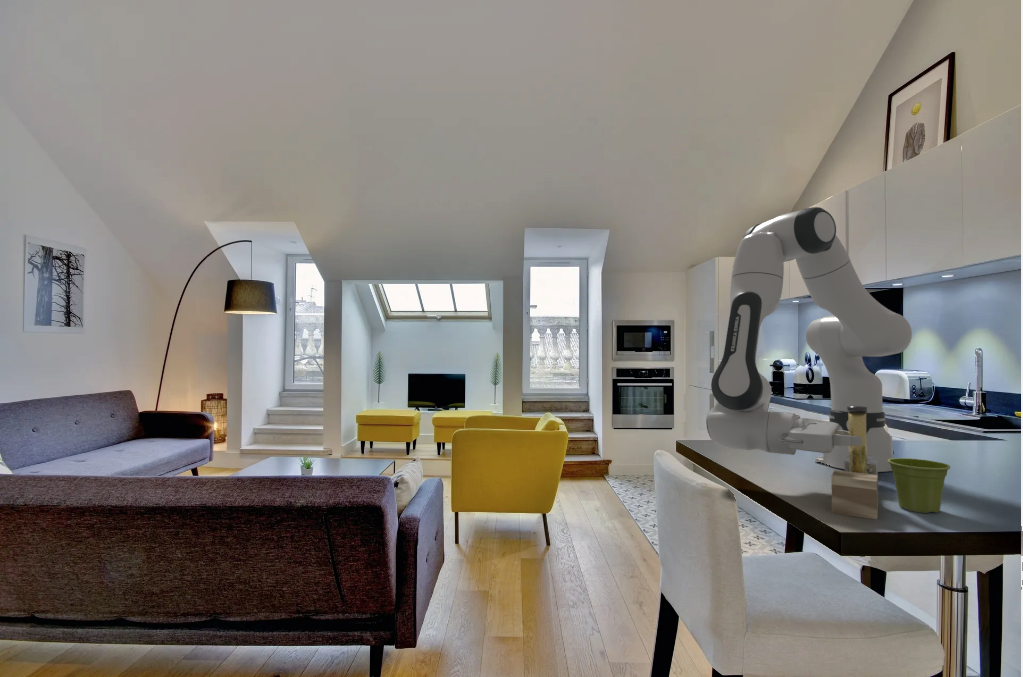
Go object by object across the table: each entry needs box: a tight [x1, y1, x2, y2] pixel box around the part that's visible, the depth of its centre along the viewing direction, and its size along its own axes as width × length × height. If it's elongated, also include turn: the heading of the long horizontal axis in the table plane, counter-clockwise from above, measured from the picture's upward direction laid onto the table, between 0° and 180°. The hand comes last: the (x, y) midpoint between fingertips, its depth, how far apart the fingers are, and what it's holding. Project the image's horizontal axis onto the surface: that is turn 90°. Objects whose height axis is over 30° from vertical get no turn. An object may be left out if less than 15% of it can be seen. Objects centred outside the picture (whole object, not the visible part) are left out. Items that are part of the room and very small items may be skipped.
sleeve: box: [843, 454, 879, 476], centre depth 118 cm, size 10×6×6 cm, turn 145°
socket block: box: [830, 469, 879, 520], centre depth 100 cm, size 6×7×7 cm
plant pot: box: [888, 457, 951, 514], centre depth 102 cm, size 9×9×9 cm
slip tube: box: [847, 406, 871, 474], centre depth 112 cm, size 20×3×17 cm, turn 144°
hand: (862, 439), depth 108 cm, fingers closed on slip tube, 3 cm apart
